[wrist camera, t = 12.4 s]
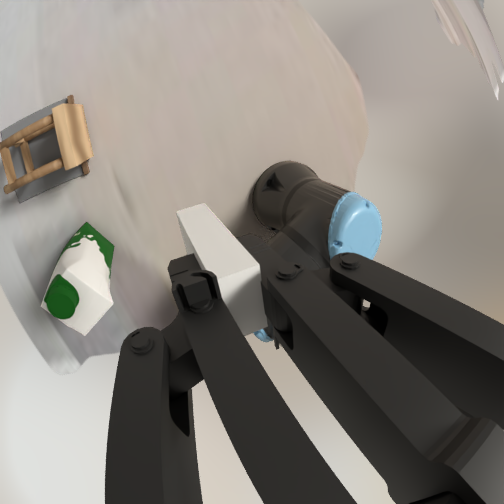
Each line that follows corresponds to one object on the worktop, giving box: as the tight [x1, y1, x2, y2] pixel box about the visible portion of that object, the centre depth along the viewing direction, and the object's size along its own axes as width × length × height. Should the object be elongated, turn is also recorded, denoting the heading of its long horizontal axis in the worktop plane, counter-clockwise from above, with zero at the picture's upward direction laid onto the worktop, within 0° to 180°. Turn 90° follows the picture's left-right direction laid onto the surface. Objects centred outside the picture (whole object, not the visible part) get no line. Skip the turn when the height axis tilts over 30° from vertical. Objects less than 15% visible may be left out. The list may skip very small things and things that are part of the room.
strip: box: [67, 95, 90, 175], centre depth 34 cm, size 1×14×1 cm, turn 8°
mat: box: [1, 98, 84, 203], centre depth 32 cm, size 14×14×1 cm
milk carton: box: [41, 222, 114, 336], centre depth 35 cm, size 9×9×20 cm
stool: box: [0, 103, 94, 194], centre depth 29 cm, size 9×9×14 cm
